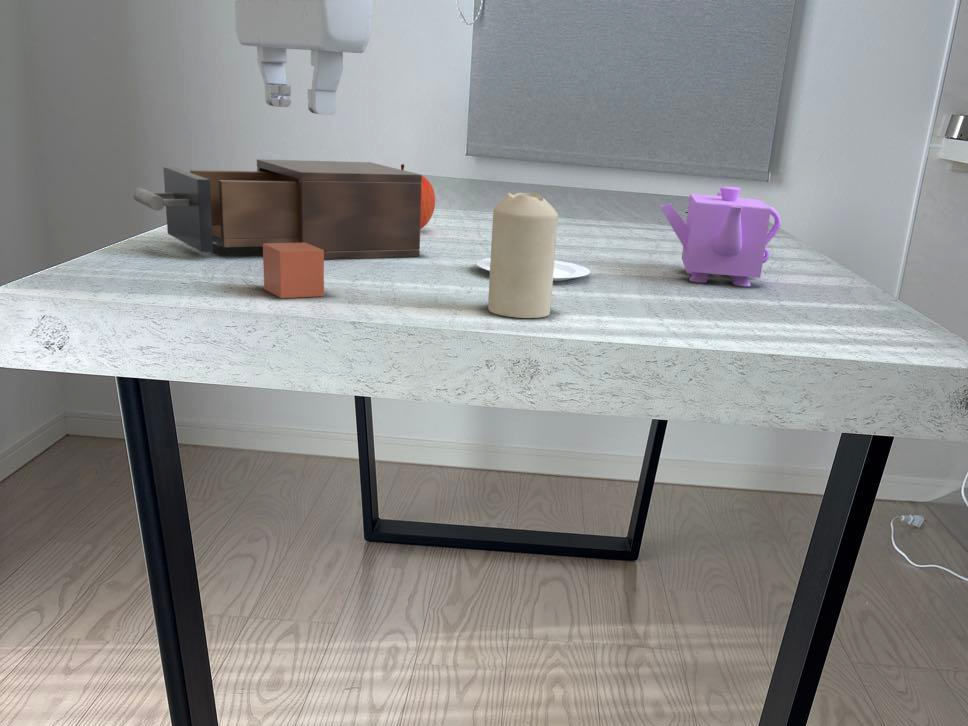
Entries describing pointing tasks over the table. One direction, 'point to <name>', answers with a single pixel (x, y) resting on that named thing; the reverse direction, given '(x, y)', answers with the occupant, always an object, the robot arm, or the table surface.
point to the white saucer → (560, 269)
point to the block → (293, 270)
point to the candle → (522, 256)
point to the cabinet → (355, 207)
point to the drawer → (227, 207)
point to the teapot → (724, 235)
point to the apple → (426, 200)
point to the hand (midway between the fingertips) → (299, 110)
